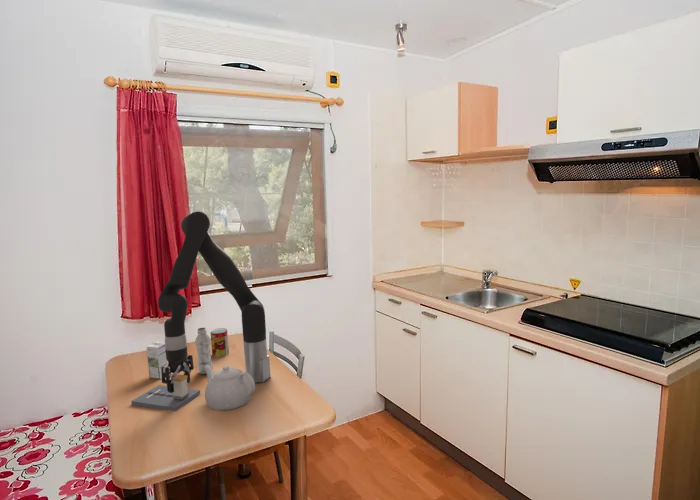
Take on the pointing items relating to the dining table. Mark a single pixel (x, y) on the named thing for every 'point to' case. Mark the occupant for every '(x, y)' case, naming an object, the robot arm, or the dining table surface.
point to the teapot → (228, 388)
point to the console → (163, 399)
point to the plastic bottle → (203, 350)
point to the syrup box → (156, 359)
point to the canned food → (219, 342)
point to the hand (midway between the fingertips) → (179, 387)
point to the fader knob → (180, 387)
